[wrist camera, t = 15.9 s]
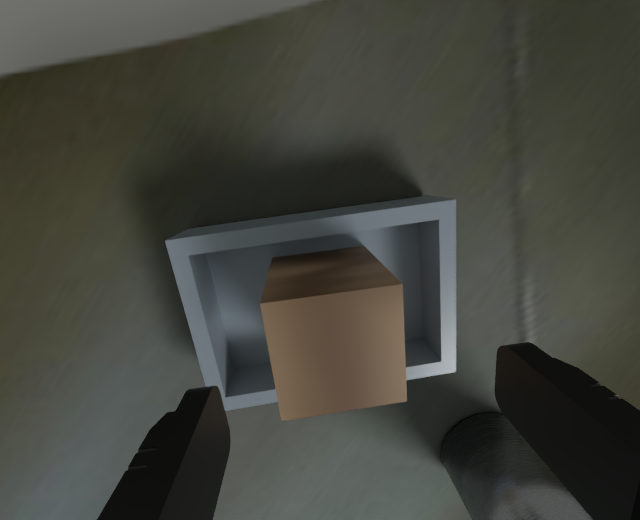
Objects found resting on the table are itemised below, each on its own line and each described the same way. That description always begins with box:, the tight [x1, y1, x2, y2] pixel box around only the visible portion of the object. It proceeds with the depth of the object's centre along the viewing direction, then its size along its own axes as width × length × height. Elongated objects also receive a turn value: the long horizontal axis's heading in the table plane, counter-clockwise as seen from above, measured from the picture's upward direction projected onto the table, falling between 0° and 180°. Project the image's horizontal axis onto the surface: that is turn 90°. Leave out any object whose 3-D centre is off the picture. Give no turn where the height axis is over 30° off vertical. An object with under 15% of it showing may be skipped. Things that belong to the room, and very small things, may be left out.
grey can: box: [441, 413, 593, 520], centre depth 18 cm, size 6×6×8 cm
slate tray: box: [165, 195, 456, 411], centre depth 16 cm, size 13×9×3 cm
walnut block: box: [260, 246, 407, 421], centre depth 14 cm, size 5×5×6 cm
